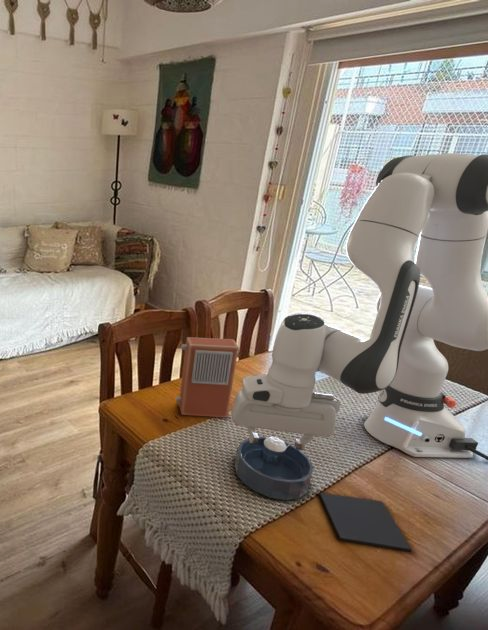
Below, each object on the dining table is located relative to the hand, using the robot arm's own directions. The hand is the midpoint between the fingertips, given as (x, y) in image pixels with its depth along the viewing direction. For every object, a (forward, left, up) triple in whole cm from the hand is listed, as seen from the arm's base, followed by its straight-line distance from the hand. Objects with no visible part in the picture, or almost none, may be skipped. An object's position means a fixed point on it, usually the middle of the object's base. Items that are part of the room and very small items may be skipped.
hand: (275, 445), depth 96 cm
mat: (-15, +10, -8) cm, 20 cm away
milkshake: (0, 0, -8) cm, 8 cm away
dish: (0, 0, -8) cm, 8 cm away
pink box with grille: (+13, -24, -9) cm, 29 cm away
